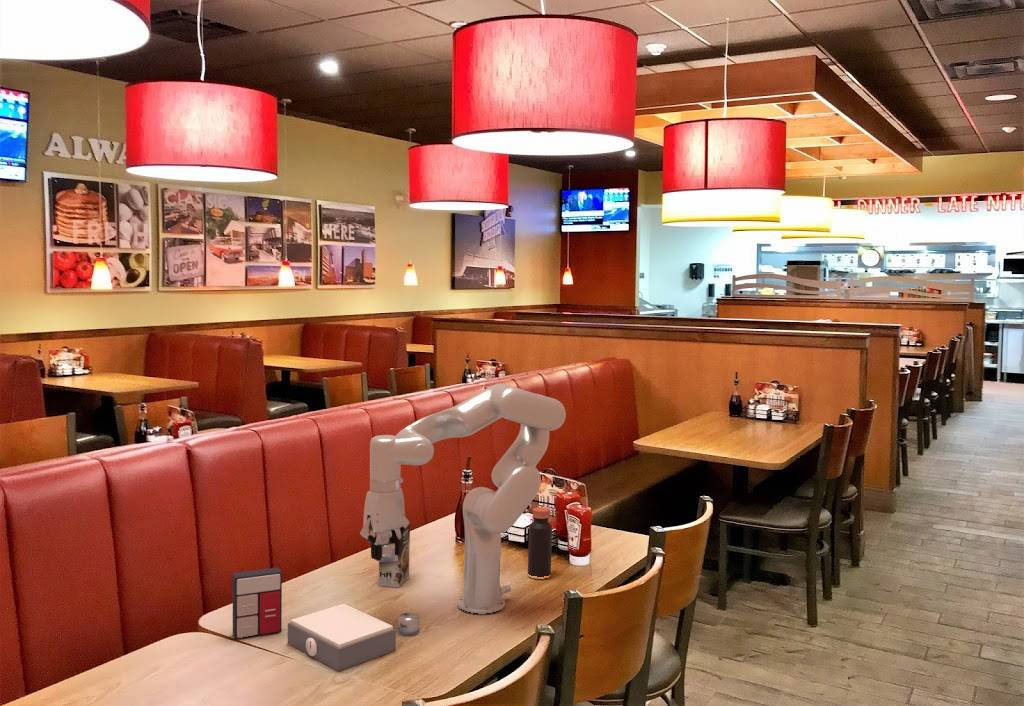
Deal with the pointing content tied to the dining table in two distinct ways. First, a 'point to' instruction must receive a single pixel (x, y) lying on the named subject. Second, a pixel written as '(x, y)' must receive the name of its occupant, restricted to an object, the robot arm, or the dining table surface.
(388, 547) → the cylinder
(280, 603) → the grey red panel
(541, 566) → the bottle
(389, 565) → the coffee box
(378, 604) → the dining table surface
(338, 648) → the scale
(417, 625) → the cylinder
